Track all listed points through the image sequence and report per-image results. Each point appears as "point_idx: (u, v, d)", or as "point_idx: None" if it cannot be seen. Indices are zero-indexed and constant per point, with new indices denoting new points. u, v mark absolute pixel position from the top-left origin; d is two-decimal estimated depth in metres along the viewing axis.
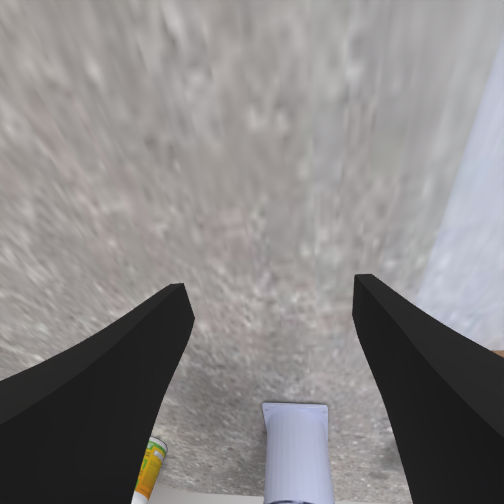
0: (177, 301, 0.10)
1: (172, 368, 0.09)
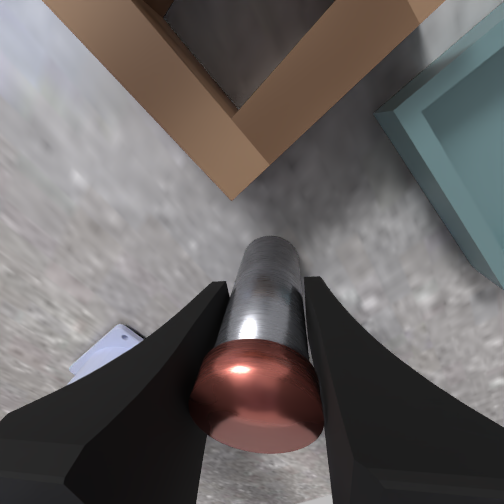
0: (222, 299, 0.09)
1: None
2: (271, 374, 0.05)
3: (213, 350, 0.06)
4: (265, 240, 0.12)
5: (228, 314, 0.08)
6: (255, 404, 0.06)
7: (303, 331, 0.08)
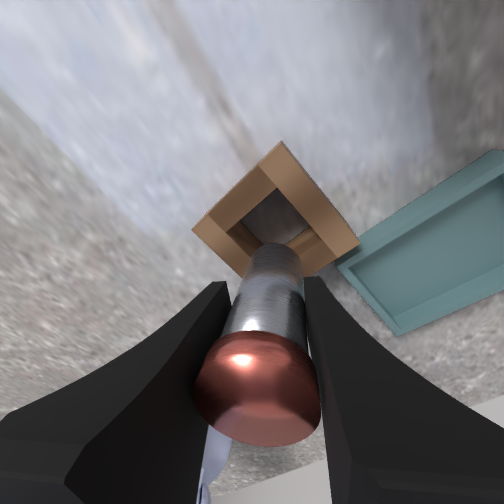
0: (222, 299, 0.09)
1: None
2: (271, 361, 0.06)
3: (218, 341, 0.07)
4: (270, 247, 0.12)
5: (233, 311, 0.08)
6: (256, 392, 0.06)
7: (304, 329, 0.08)
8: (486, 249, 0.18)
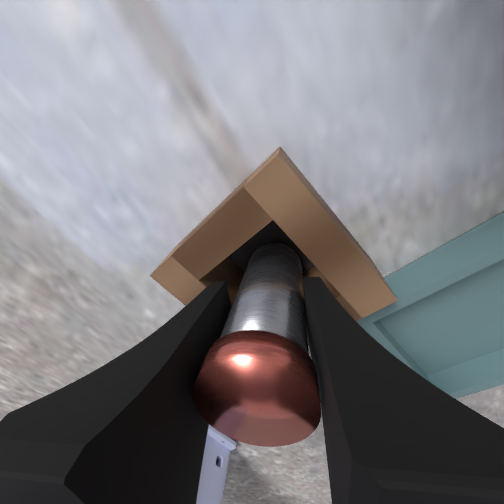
0: (222, 299, 0.09)
1: None
2: (271, 361, 0.06)
3: (218, 340, 0.07)
4: (270, 246, 0.12)
5: (233, 311, 0.08)
6: (256, 392, 0.06)
7: (304, 329, 0.08)
8: None
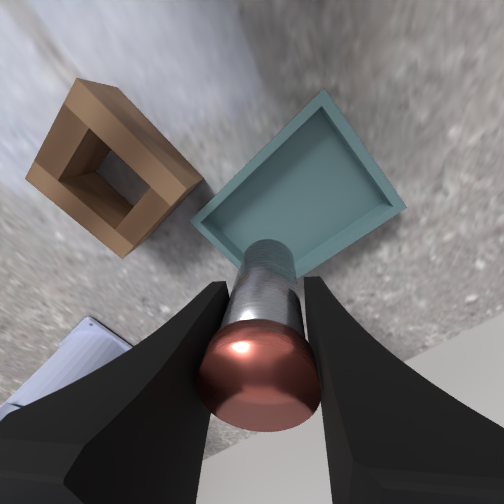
0: (222, 299, 0.09)
1: None
2: (271, 345, 0.06)
3: (217, 332, 0.07)
4: (262, 242, 0.13)
5: (230, 305, 0.09)
6: (257, 377, 0.06)
7: (299, 317, 0.08)
8: (338, 202, 0.17)
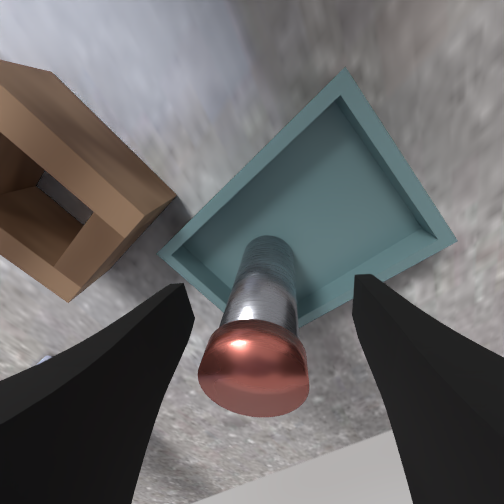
0: (177, 301, 0.10)
1: (172, 368, 0.09)
2: (263, 345, 0.07)
3: (217, 330, 0.08)
4: (262, 239, 0.13)
5: (229, 303, 0.09)
6: (252, 371, 0.07)
7: (294, 315, 0.09)
8: (357, 229, 0.13)
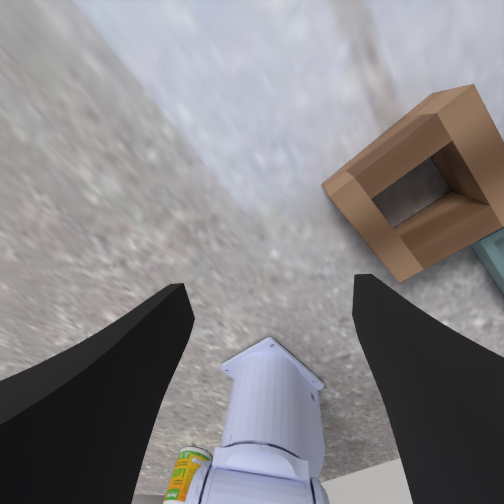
0: (177, 301, 0.10)
1: (172, 368, 0.09)
2: None
3: None
4: None
5: None
6: None
7: None
8: None
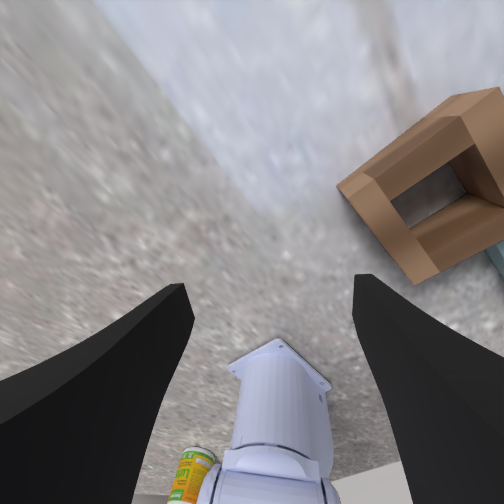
0: (177, 301, 0.10)
1: (172, 368, 0.09)
2: None
3: None
4: None
5: None
6: None
7: None
8: None
